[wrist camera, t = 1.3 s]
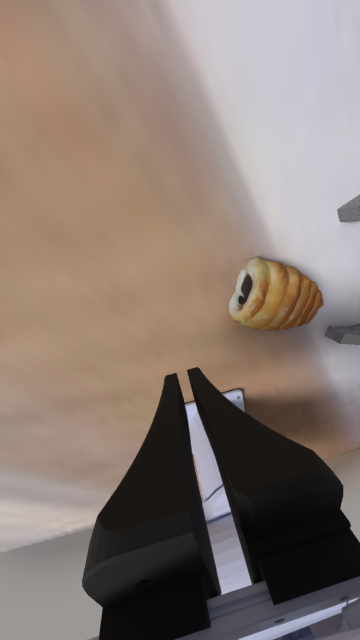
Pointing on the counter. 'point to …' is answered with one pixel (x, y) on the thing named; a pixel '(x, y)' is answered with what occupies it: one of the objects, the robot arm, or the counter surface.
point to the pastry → (273, 296)
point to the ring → (356, 334)
